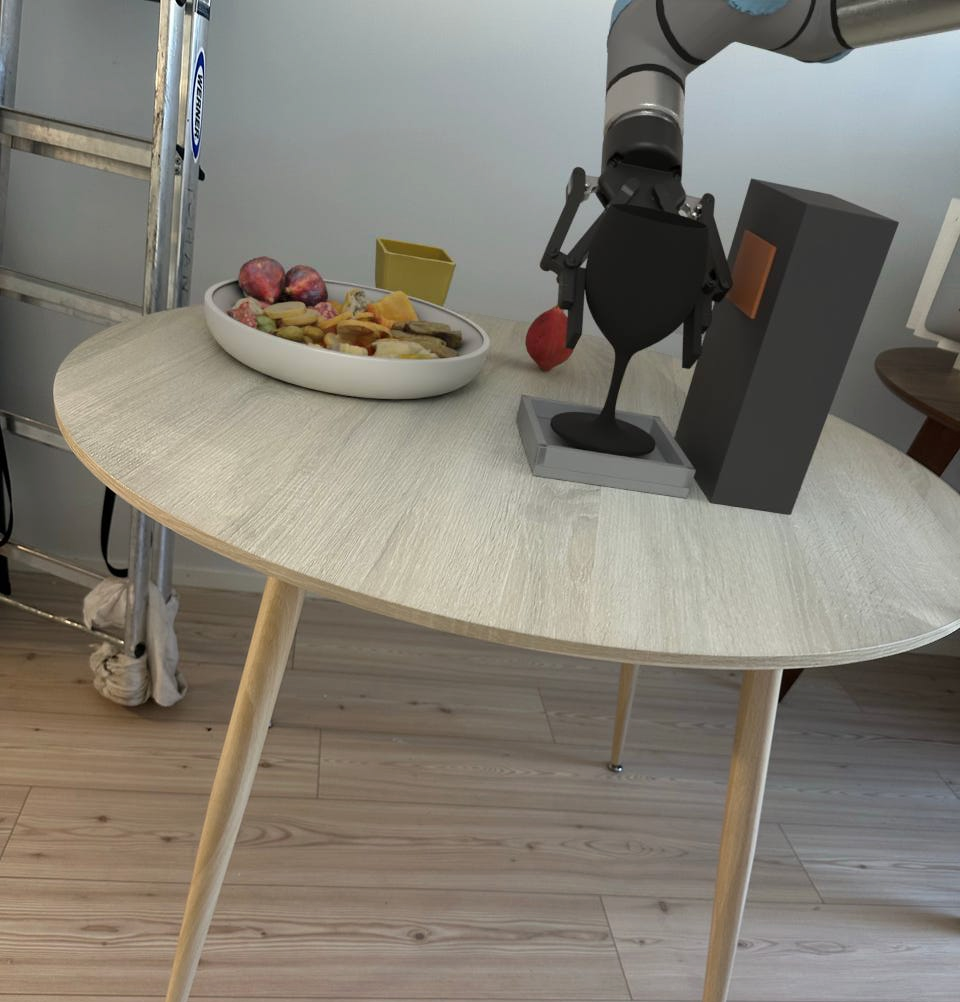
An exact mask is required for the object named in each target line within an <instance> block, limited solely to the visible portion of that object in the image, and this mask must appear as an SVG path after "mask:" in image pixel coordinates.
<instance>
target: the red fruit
mask: <svg viewBox="0 0 960 1002" xmlns="http://www.w3.org/2000/svg"><path fill="white" fill-rule="evenodd" d="M567 318H568V315H566V314H565V310H564V309H559V306H558V303H557V304H556V305H554V306H553V307H552V308H550V309H548V310H546V311H544V312H541V314H539V315H538V316H537V317H536V318H535V319H534V320H533V321H532V322H531V324H530V326H529V327H528V329H527V332H526V334H525V340H524V341H525V343H524V344H525V348H526V352H527V353H528V355H529V357H530V358H531V360H532V361H533V362H534V363H535V364H536V365H537V366H538V368H539V369H540V370H541V371H543V372H550V371H551V370H553V369H554V368H555V367H558V366H560V365H561V364H563V363H565V362H566V361H568V360H569V358H570V357H571V356H572V354H573V352H574V350H575V348H574V349H568V348H566V333H567Z"/></svg>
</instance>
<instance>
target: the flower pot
mask: <svg viewBox="0 0 960 1002" xmlns="http://www.w3.org/2000/svg"><path fill="white" fill-rule="evenodd" d="M374 259H375V263H374V285H375V288H379V289H384V290H388V291H392V292H395V291H399V290H400V291H402V292H403V293H405V294H406V295H407V296H411V297H414V298H418V299H421V300H424V301H427V302H430V303H433V304H436V305H438V306H441V307H444V305H445V303H446V300H447V297H448V294H449V291H450V286H451V283H452V280H453V276H454V274H455V269H456V266H457V262H456V261H455V260H454V259H453V257H452V256H451V255H450V254H449V253H448V252H447V251H446V249H444V248H442V247H439V246H438V247H437V246H433V245H427V244H421V243H417V242H411V241H410V242H409V241H404V240H398V239H391V238H385V237H376V238H375V258H374Z"/></svg>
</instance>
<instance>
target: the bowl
mask: <svg viewBox="0 0 960 1002" xmlns="http://www.w3.org/2000/svg"><path fill="white" fill-rule="evenodd" d="M242 264H243V265H242V266H241V267H240V268H239V273H238V275H237V277H236V278H231V279H227V280H223V281H220V282H217V283H215V284H213V285H211V286H209V288H208V289H207V290H206V291H205V294H204V301H203V302H204V303H203V309H204V311H203V312H204V317H205V321H206V324H207V327H208V329H209V331H210V333H211V335H212V337H213V338H214V340H215V341H216V342H217V344H219V346H220V347H221V348H222V349H223V350H224V351H225V352H226V353H228V355H230V356H231V357H233V358H234V359H236V360H237V361H239V362H241V363H242V364H243V365H245V366H247V367H249V368H251V369H253V370H255V371H257V372H259V373H261V374H263V375H266V376H268V377H272V378H273V379H276V380H279V381H283V382H285V383H289V384H292V385H296V386H299V387H303V388H307V389H310V390H314V391H315V390H316V391H320V392H325V393H330V394H336V395H341V396H349V397H354V398H355V397H357V398H365V399H378V400H379V399H380V400H412V399H423V398H431V397H436V396H441V395H445V394H447V393H451V392H454V391H455V390H459V389H460V388H462V387H464V386H466V385H467V384H468V383H470V382H472V380H473V379H474V378H475V377H477V375H479V374H480V372H481V370H482V369H483V368H484V366H485V364H486V362H487V359H488V356H489V351H490V347H491V340H490V336H489V335H488V334H487V331H485V330H484V329H483V328H482V327H481V326H480V325H478V324H477V323H475V322H474V321H472V320H471V319H469V318H467V317H465V316H464V315H462V314H459V313H457V312H456V311H453V310H451V309H448V308H446V307H444V306H443V307H441V306H438V305H436V304H433V303H430V302H427V301H424V300H421V299H418V298H414V297H411V296H407V295H406V294H405V293H403V292H402V291H400V290H399V291H395V292H392V291H388V290H384V289H379V288H376V286H375V287H374V286H369V285H364V284H359V283H352V282H348V281H347V282H346V281H341V280H335V279H334V280H333V279H325V278H323V277H322V276H321V274H320V273H319V272H318V270H317V269H315V268H313V267H311V266H310V265H305V264H297V265H295V266H292V267H291V268H290V269H289V270H287V271H285V269H284V267H283V265H282V264H281V263H280V262H278V260H276V259H274V258H271V257H268V256H259V257H253V258H252V259H250V260H248V261H246V262H244V263H242Z"/></svg>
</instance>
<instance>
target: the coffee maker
mask: <svg viewBox="0 0 960 1002" xmlns="http://www.w3.org/2000/svg"><path fill="white" fill-rule="evenodd" d="M899 224H900V222H899V221H897V220H895V219H893V218H890V217H888V216H885V215H882V214H880V213H878V212H875V211H873V210H870V209H868V208H865V207H863V206H861V205H858V204H856V203H853V202H851V201H848V200H846V199H844V198H841V197H838V196H836V195H833V194H831V193H825V192H821V191H817V190H810V189H806V188H801V187H797V186H791V185H786V184H782V183H778V182H772V181H766V180H762V179H757V178H750V180H749V183H748V187H747V191H746V194H745V197H744V200H743V204H742V207H741V211H740V214H739V218H738V221H737V225H736V229H735V231H734V233H733V234H734V235H733V238H732V241H731V245H730V248H729V252H728V255H727V257H726V260H727V263H728V266H729V270H730V273H731V277H732V280H733V286H732V287H731V289H730V290H729V291H728V293H727V294H726V296H725V297H724V298H723V300H722V301H721V302H719V303H716V302H714V303H713V305H712V316H711V317H712V322H711V324H710V326H709V327H708V329H707V330H706V331H705V333H704V335H703V338H702V346H701V356H700V357H699V358H698V359H697V361H696V362H695V366H694V371H693V373H692V377H691V379H690V384H689V387H688V391H687V394H686V397H685V401H684V404H683V407H682V411H681V415H680V418H679V421H678V424H677V428H676V431H675V434H674V435H673V434H672V433H671V432H670V430H669V428H668V426H667V425H666V424H665V422H664V421H663V419H662V418H661V416H659V415H651V414H646V413H645V414H644V413H638V412H634V411H626V410H620V409H615V418H616V419H619V420H622V421H625V422H628V423H630V424H633V425H635V426H637V427H639V428H641V429H643V430H644V431H646V432H647V433H649V434H650V435H651V436H652V437H653V438H654V440H655V443H656V445H655V449H654V450H653V451H652V452H651V453H649V454H646V455H642V456H618V455H611V454H605V453H600V452H596V451H593V450H589V449H586V448H583V447H580V446H578V445H575V444H573V443H571V442H569V441H567V440H565V439H563V438H562V437H560V436H559V435H557V434H556V433H555V432H554V431H553V430H552V428H551V426H550V422H551V419H552V417H554V416H555V415H557V414H560V413H564V412H586V413H595V414H600V413H601V411H602V409H603V406H596V405H589V404H584V403H578V402H577V403H576V402H571V401H565V400H557V399H553V398H545V397H539V396H533V395H527V394H521V395H520V399H519V405H518V409H517V414H516V419H515V421H516V425H517V429H518V432H519V435H520V438H521V441H522V444H523V447H524V448H523V449H524V451H525V454H526V458H527V460H528V465H529V467H530V471H531V474H532V476H534V477H541V478H548V479H553V480H554V479H555V480H560V481H561V480H562V481H566V482H567V481H568V482H574V483H580V484H587V485H594V486H602V487H609V488H615V489H622V490H629V491H635V492H642V493H647V494H648V493H649V494H655V495H661V496H668V497H676V498H681V499H688V497H689V493H690V490H691V487H692V484H693V480H695V481H696V483H697V485H698V486H699V488H700V489H701V490H702V492H703V493H704V495H705V496H706V498H707V499H708V502H709V503H710V504H717V505H725V506H731V507H737V508H743V509H750V510H757V511H758V510H759V511H764V512H771V513H777V514H778V513H779V514H785V515H792V513H793V510H794V507H795V505H796V502H797V499H798V497H799V495H800V491H801V489H802V487H803V483H804V480H805V478H806V475H807V472H808V470H809V467H810V465H811V461H812V459H813V457H814V453H815V451H816V448H817V445H818V443H819V440H820V437H821V435H822V432H823V430H824V426H825V424H826V421H827V419H828V416H829V413H830V411H831V408H832V405H833V402H834V400H835V397H836V394H837V391H838V388H839V386H840V383H841V381H842V378H843V375H844V373H845V370H846V368H847V364H848V362H849V359H850V357H851V354H852V352H853V348H854V345H855V344H856V340H857V338H858V335H859V332H860V330H861V327H862V324H863V322H864V319H865V316H866V313H867V311H868V308H869V305H870V303H871V300H872V298H873V294H874V291H875V289H876V285H877V283H878V281H879V278H880V275H881V273H882V270H883V268H884V265H885V261H886V259H887V257H888V254H889V251H890V249H891V246H892V243H893V241H894V237H895V235H896V232H897V229H898V227H899Z"/></svg>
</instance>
